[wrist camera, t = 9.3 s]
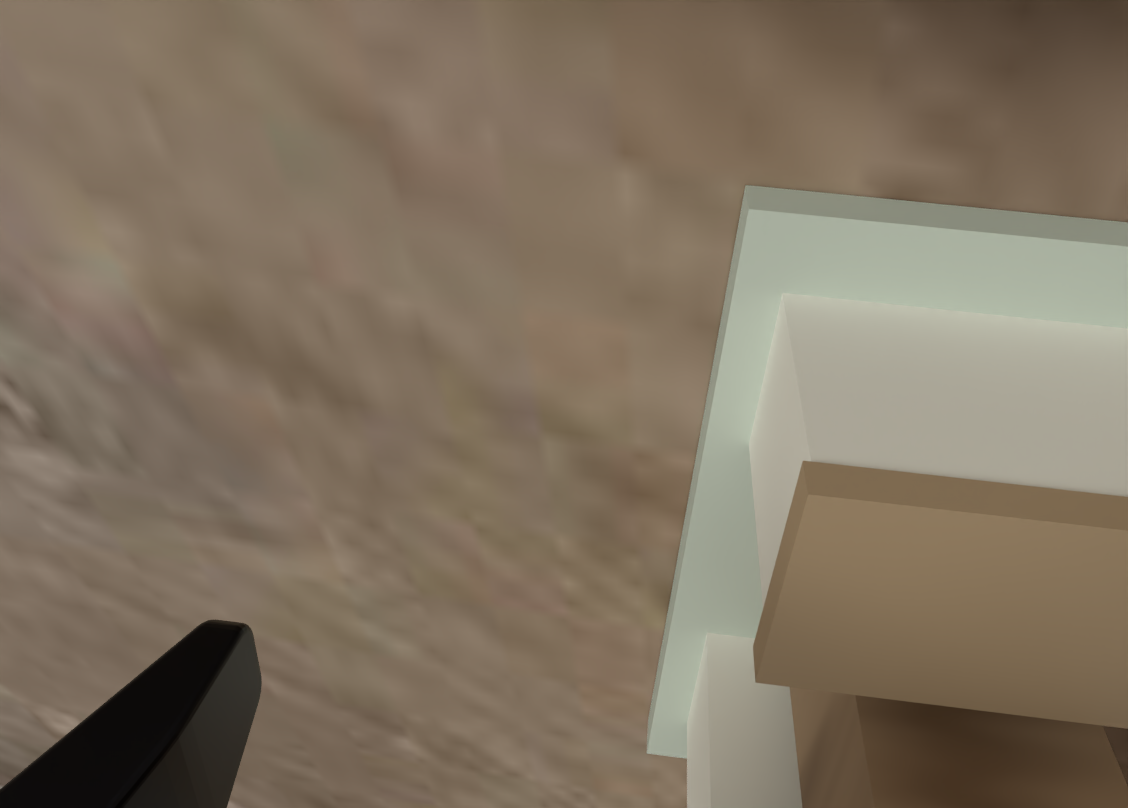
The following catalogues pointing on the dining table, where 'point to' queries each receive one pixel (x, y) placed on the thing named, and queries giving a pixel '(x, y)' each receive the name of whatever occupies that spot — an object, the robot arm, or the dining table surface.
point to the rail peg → (946, 757)
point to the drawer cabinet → (900, 481)
